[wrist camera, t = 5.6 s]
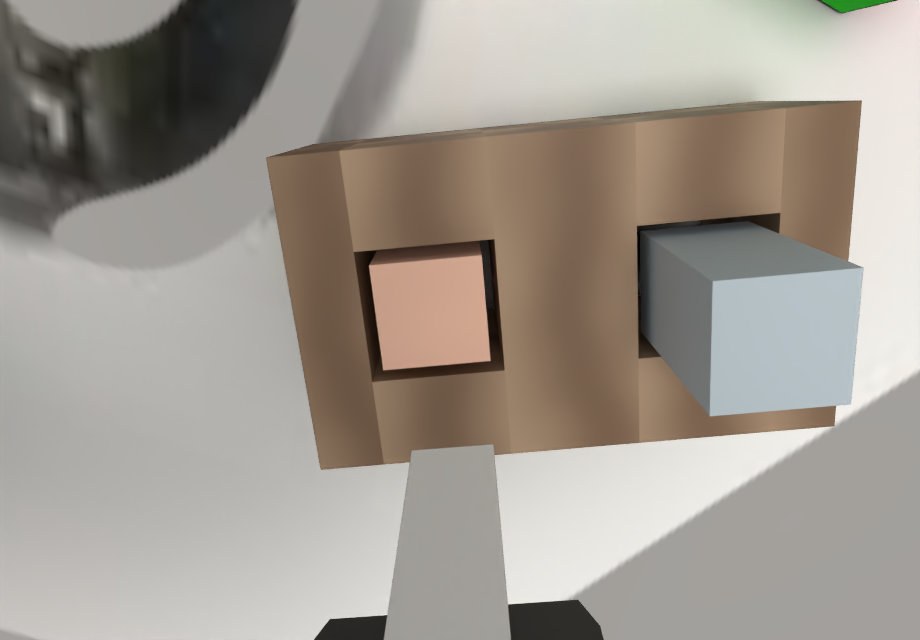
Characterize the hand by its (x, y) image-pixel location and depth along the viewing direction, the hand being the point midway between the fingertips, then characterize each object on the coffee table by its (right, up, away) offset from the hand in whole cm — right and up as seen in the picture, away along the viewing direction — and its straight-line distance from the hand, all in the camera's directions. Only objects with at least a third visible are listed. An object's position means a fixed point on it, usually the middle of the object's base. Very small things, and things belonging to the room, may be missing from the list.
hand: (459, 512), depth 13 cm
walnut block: (+4, +7, +19) cm, 21 cm away
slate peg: (+9, +5, +13) cm, 17 cm away
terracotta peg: (-1, +6, +19) cm, 20 cm away
